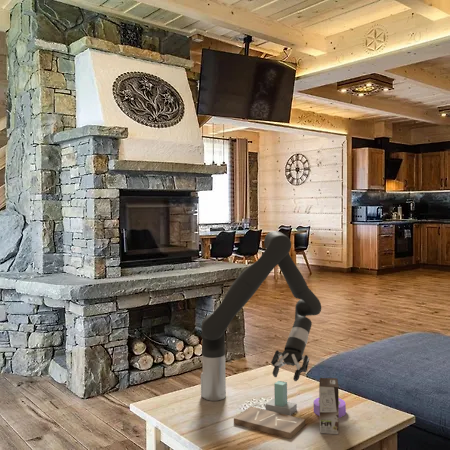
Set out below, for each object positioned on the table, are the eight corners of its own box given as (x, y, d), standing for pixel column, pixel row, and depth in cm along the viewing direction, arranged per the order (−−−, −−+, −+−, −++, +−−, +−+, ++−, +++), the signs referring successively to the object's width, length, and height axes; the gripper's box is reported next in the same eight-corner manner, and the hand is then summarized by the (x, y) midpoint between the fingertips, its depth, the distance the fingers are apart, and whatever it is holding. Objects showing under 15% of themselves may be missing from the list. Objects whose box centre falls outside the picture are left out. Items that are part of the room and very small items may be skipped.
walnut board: (233, 423, 177) (233, 418, 177) (250, 411, 187) (250, 406, 187) (290, 438, 165) (290, 432, 164) (305, 424, 175) (305, 419, 174)
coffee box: (339, 434, 167) (338, 387, 166) (319, 433, 168) (319, 386, 167) (338, 423, 176) (338, 377, 175) (319, 421, 177) (319, 376, 176)
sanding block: (265, 410, 188) (265, 382, 187) (273, 404, 193) (272, 378, 192) (289, 416, 182) (289, 387, 182) (296, 410, 187) (296, 382, 187)
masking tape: (307, 413, 185) (307, 402, 185) (324, 403, 194) (324, 393, 194) (335, 421, 177) (335, 411, 177) (351, 411, 186) (351, 401, 186)
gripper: (277, 334, 201) (264, 370, 191) (310, 338, 193) (298, 376, 184) (284, 343, 205) (271, 379, 196) (316, 348, 197) (304, 386, 188)
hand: (284, 378), depth 190 cm, fingers open, 8 cm apart
